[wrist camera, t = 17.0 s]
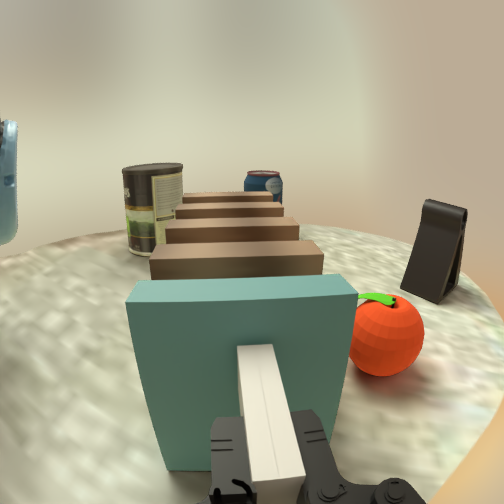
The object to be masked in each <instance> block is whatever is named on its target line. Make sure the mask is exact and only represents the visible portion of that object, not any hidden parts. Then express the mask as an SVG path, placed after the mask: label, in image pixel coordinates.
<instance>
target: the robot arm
mask: <svg viewBox="0 0 504 504" xmlns="http://www.w3.org/2000/svg"><path fill="white" fill-rule="evenodd" d="M17 127H18V126H17V123H16V122H15V121H8V120H5V121H3V122H1V120H0V245H3V244H6V243H8V242H10V241H11V240H12V239H13V238H14V237H15V235H16V233H17V229H18V216H17V184H16V183H17V182H16V161H17ZM237 365H238V394H239V404H240V414H241V416H239V417H216V419H215V421H214V422H213V424H212V426H211V473H212V486H211V487H210V490H209V495H208V496H207V497H206V498H205V499H204V500H203V501H201V502H199V503H197V504H426V503H425V501H424V500H423V499H422V498H421V497H420V495H419V494H418V493H417V492H416V491H415V490H414V488H413V487H412V486H411V485H410V484H409V483H408V482H407V481H405V480H403V479H400V478H389V479H387V480H384V481H383V482H381V483H380V484H379V485H359V484H353V483H351V482H348V481H347V480H345V479H344V478H343V477H342V476H341V475H340V474H339V472H338V469H337V467H336V464H335V461H334V458H333V455H332V452H331V449H330V446H329V443H328V440H327V437H326V434H325V431H324V428H323V425H322V422H321V420H320V418H319V417H318V416H317V415H316V414H315V412H314V411H313V410H312V409H309V410H301V411H292V412H289V408H288V404H287V400H286V396H285V392H284V388H283V384H282V380H281V377H280V373H279V369H278V365H277V361H276V357H275V353H274V349H273V345H272V344H262V345H243V346H237Z"/></svg>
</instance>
